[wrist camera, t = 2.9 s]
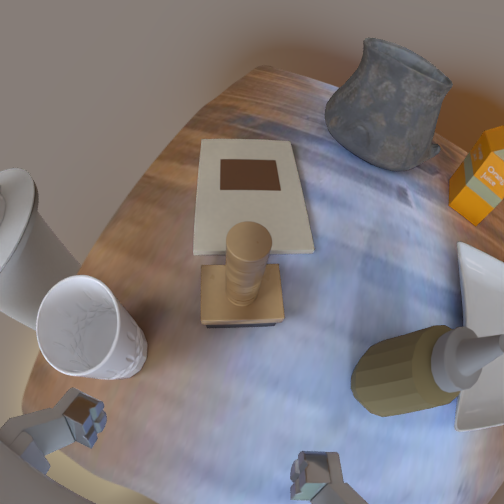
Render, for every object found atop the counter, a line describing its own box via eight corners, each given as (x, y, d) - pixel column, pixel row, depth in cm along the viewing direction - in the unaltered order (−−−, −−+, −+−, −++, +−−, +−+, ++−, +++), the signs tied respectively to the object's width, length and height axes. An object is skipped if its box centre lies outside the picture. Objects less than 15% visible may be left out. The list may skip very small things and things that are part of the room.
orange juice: (448, 205, 41) (507, 127, 24) (448, 179, 45) (497, 108, 28) (476, 227, 40) (538, 158, 22) (475, 199, 44) (525, 135, 26)
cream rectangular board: (193, 255, 32) (192, 250, 31) (201, 143, 41) (201, 138, 40) (312, 253, 33) (315, 249, 32) (289, 145, 43) (290, 140, 42)
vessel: (424, 213, 39) (490, 123, 22) (303, 154, 42) (335, 40, 25) (423, 147, 49) (461, 76, 32) (333, 103, 52) (356, 24, 35)
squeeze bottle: (363, 333, 29) (477, 258, 13) (412, 368, 27) (534, 321, 11) (326, 393, 25) (448, 374, 10) (380, 428, 23) (513, 426, 8)
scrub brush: (203, 330, 28) (188, 280, 16) (203, 281, 30) (192, 206, 19) (277, 328, 28) (313, 278, 17) (272, 279, 31) (299, 206, 20)
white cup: (108, 301, 28) (68, 259, 19) (166, 335, 27) (139, 304, 18) (76, 359, 24) (22, 337, 15) (133, 399, 23) (89, 397, 14)
